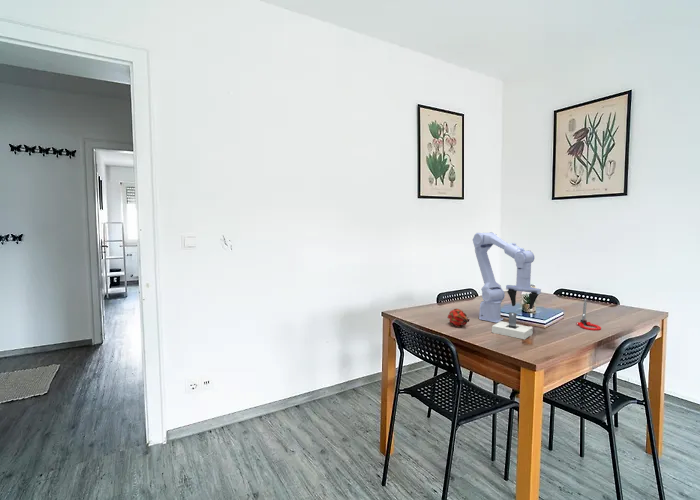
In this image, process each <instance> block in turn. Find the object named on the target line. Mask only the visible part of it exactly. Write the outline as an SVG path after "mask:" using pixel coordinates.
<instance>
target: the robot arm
mask: <svg viewBox="0 0 700 500" xmlns="http://www.w3.org/2000/svg"><path fill="white" fill-rule="evenodd" d="M472 244H473V247H474V252H475V257H476V260H477V263H478V267H479V271H480V273H481V277H482V281H483V283H484V284H483V286H482V287H481V298H482V301H481V302H480V304H479V317H478V319H479V320H481V321H482V320H483V321H486V322H491V323H495V324H497V323H498V322H500V321H502V322H503V320H504V318H502V317H501V315H502V314H501V311H502V309H501V308H502V302H503V300H504V299H505V296H506V294H505V291H504V290H503V288H502V286H501V285H500V284H499V283H498V282H497V280H496V278H495V275H494V271H493V268H492V265H491V261H490V259H489V255H488V251H489V250H490V249H491V248H492V247H493V246H496V247H498V248H500V249H502V250H503V251H504V254H506V255H507V256H509V257H510V258H512V259H514V262H515V266H516V281H515V282H516V283H515V285H512V284H507V285H505V290H507V295H508V297H509V298H510V302H511V306H512V307H515V306H516V297H517V291H518V292H523V293H524V292H525V293H529V294H528V296H529V310H533V308H534V304H535V302H536V300H537V298H538V297H539V295H540V294H542V291H541V290H542V288H536V287H532V286H531V277H532V276H531V273H532V263H533V262H535V255H534V253H533V252H532V251H531V250H525V248H523V247H520V246H518V245H517V243H516V242H511V243H508V242H507V241H505V240H504V239H502V238H501V237H500V236H498V235H497V234H496V233H494V232H492V231H491V232H476V233H475V234H474V236H473V238H472Z"/></svg>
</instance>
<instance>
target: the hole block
mask: <svg viewBox="0 0 700 500" xmlns="http://www.w3.org/2000/svg"><path fill="white" fill-rule="evenodd" d="M533 328H534V327H533V326H532V327H531V326H529V325H528V326H527V325H522V324H517V323H516V329H514V328H509V322H506V321H503V320H502V321H500V322H498V323H495V324H493V325H492V326H491V333H492V334H495V335H496V334H497V335H502V336H506V337H511V338H515V339H516V338H517V339H520V340H526V339H528V338H529V337H530V336H532V335H534V334H533V332H534V331H533V330H534V329H533Z"/></svg>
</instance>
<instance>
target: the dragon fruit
mask: <svg viewBox="0 0 700 500" xmlns="http://www.w3.org/2000/svg"><path fill="white" fill-rule="evenodd" d="M447 319H449V323H450V325H454V326H456V327H457V328H462V326H466V325H467V324H468V323H469V322H470V318H469V316H468V315H467V314H466V313H465V312H464V311H463V310H462V309H459V308H453V309H452V310H450V311H449V314H448V315H447Z"/></svg>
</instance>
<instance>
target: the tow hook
mask: <svg viewBox="0 0 700 500" xmlns="http://www.w3.org/2000/svg"><path fill="white" fill-rule="evenodd" d="M587 300H588V299H587V298H584V302H583V308H582V315H581V319H580V321H579V322H578V321H577V322H576V323H575V325H576V326H579V328H581V329H583V330H586V331H587V330H588V331H597V332H598V331H601V330H602V327H601V326H600V325H598V324H594V323H592V322H591V321H587V315H586V314H587ZM589 326H590V327H589Z"/></svg>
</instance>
